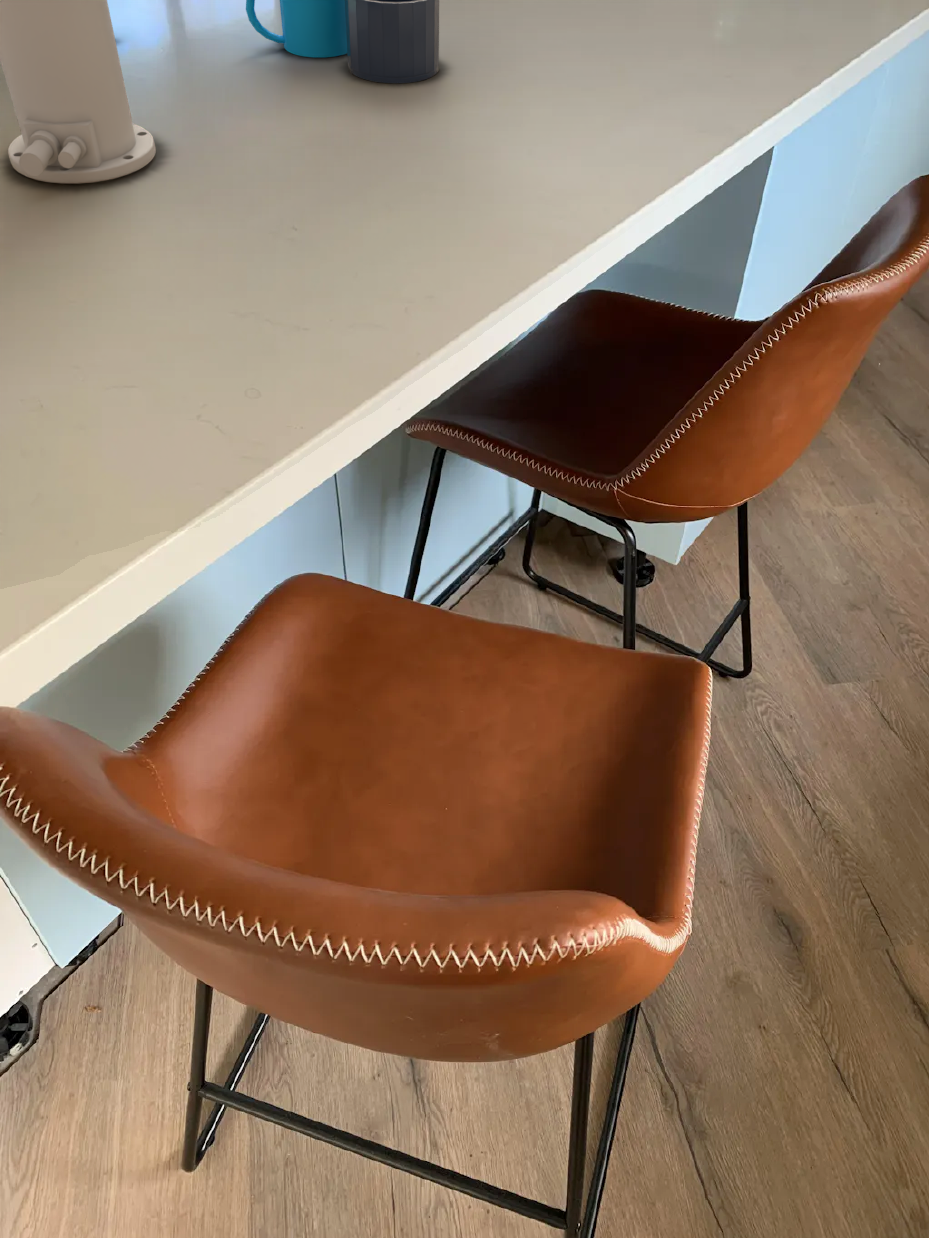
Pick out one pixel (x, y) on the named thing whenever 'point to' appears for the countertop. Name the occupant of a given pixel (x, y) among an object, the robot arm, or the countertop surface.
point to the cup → (392, 39)
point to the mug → (308, 27)
